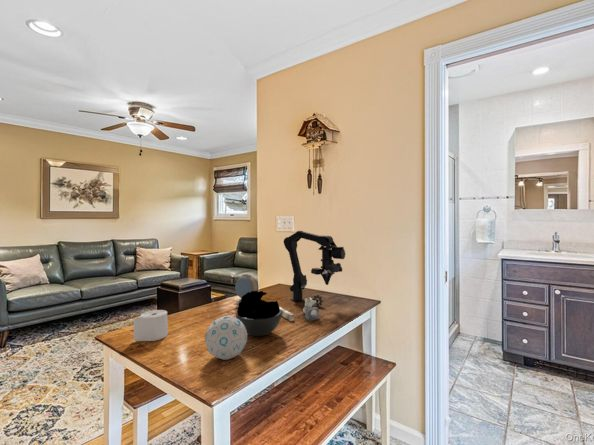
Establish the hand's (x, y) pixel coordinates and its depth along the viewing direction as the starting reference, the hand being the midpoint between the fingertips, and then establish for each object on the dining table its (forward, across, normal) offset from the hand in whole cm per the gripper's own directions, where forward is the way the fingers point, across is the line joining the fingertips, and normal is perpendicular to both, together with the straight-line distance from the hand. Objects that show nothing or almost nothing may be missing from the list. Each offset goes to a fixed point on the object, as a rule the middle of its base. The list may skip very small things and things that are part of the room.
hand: (326, 284), depth 175 cm
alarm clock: (+12, -38, +28) cm, 49 cm away
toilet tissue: (+12, -91, +4) cm, 92 cm away
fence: (+12, -30, -2) cm, 32 cm away
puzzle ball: (+12, -70, -31) cm, 78 cm away
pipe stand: (+12, -20, -13) cm, 27 cm away
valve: (+12, -10, 0) cm, 16 cm away
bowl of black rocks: (+12, -51, -18) cm, 55 cm away
